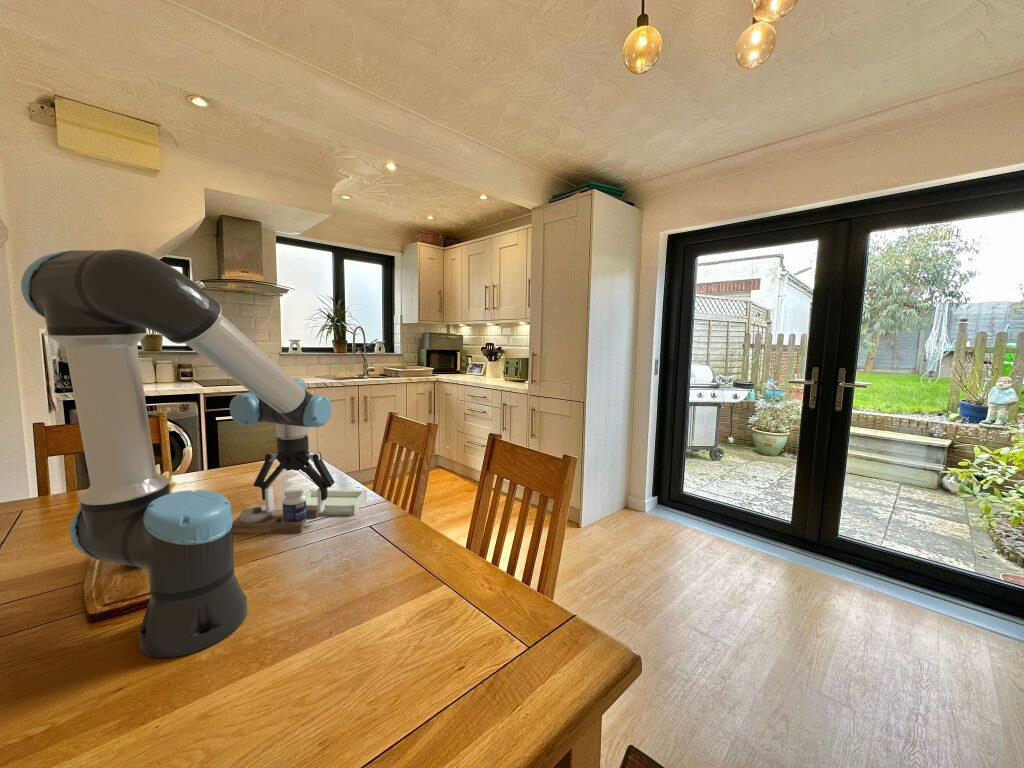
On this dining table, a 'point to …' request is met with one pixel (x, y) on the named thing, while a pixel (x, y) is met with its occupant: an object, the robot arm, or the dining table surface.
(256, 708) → the dining table surface
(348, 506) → the tray
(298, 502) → the pill bottle
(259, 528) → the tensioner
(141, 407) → the robot arm
